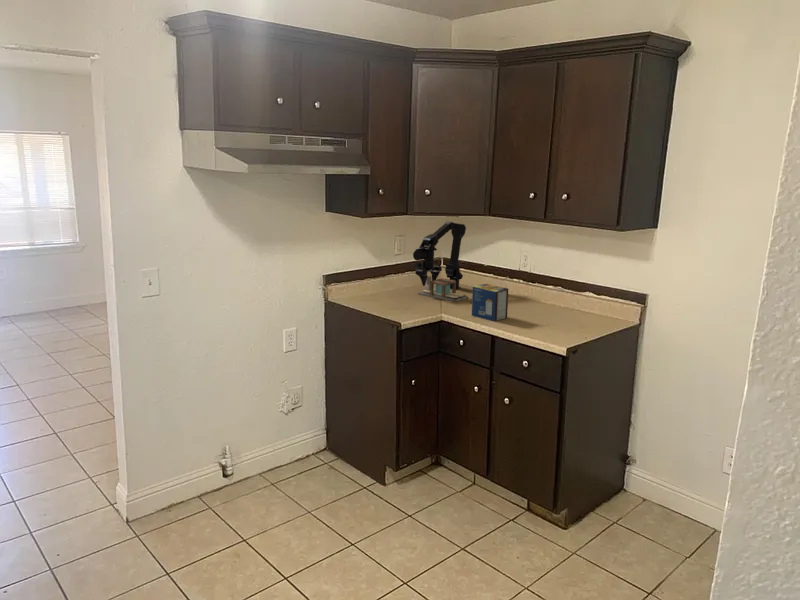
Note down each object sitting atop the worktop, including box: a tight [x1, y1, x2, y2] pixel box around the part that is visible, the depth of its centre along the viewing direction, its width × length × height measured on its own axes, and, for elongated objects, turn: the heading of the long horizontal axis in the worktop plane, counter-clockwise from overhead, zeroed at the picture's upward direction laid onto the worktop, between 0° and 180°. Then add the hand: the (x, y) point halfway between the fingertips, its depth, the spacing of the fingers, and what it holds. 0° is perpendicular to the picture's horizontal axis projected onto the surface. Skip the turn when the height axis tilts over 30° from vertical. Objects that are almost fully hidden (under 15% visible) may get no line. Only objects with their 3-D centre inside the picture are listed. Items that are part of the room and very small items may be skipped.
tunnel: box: [417, 277, 469, 302], centre depth 361 cm, size 12×27×9 cm, turn 51°
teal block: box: [435, 284, 451, 294], centre depth 361 cm, size 6×6×5 cm
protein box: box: [471, 283, 509, 322], centre depth 318 cm, size 10×15×16 cm
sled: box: [421, 275, 465, 298], centre depth 361 cm, size 8×24×9 cm, turn 51°
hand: (428, 284), depth 367 cm, fingers open, 9 cm apart
